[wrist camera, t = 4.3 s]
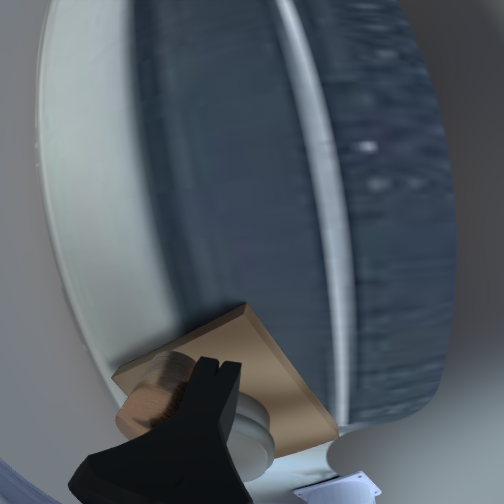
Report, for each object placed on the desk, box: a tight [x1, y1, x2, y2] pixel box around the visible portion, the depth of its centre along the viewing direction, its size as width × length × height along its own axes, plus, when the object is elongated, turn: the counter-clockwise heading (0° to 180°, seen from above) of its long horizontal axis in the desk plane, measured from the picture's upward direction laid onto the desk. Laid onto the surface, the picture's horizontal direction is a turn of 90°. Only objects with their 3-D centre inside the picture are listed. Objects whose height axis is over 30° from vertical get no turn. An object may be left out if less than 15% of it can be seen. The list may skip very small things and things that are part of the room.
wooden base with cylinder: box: [111, 302, 339, 482], centre depth 16 cm, size 13×12×6 cm
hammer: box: [115, 351, 197, 440], centre depth 10 cm, size 10×2×4 cm, turn 6°
